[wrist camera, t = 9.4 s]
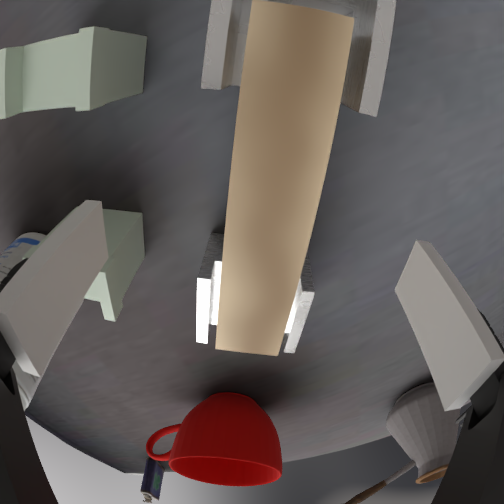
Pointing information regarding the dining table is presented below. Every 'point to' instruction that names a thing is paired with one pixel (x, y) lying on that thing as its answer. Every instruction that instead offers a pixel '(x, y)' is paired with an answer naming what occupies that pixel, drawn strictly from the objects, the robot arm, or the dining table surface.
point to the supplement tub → (3, 265)
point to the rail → (278, 166)
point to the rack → (84, 98)
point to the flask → (152, 480)
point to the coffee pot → (420, 435)
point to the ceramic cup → (224, 443)
